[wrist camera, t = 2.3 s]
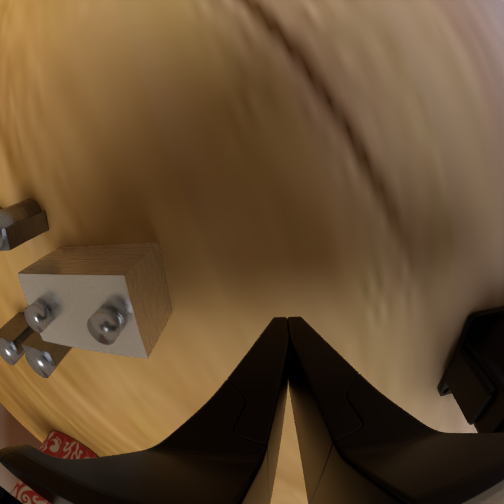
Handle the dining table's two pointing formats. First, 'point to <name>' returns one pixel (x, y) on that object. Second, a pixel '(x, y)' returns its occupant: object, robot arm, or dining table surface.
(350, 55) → the dining table surface
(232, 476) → the robot arm
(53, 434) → the mug
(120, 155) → the dining table surface
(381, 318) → the dining table surface
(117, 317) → the block with round pegs
